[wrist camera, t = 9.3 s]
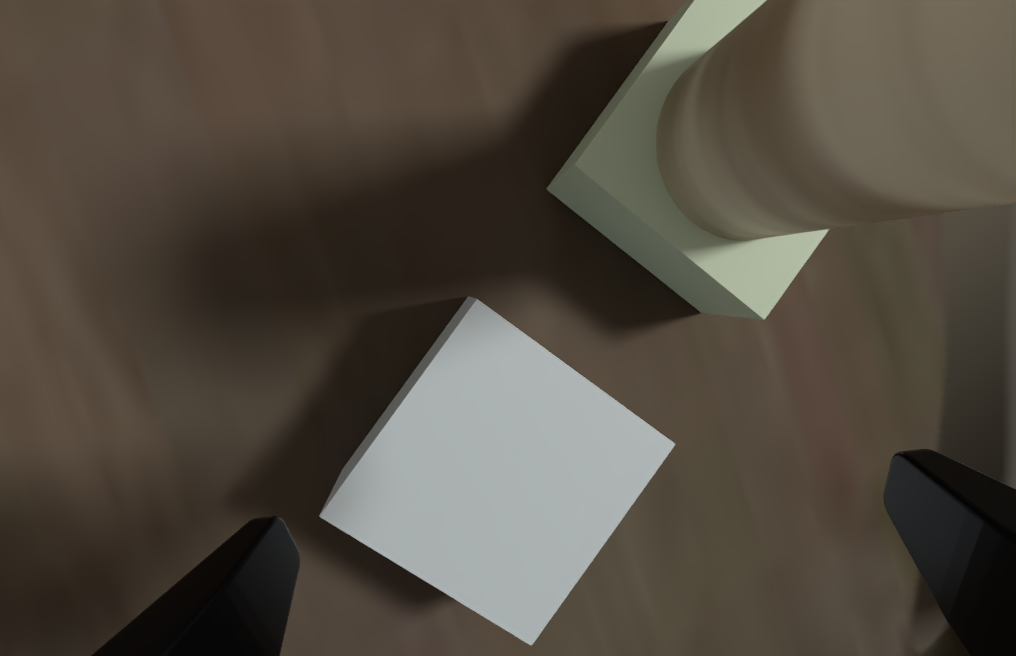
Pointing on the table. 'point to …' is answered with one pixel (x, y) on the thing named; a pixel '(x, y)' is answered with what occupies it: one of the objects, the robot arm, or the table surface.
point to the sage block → (644, 198)
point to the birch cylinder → (844, 116)
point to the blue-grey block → (496, 473)
